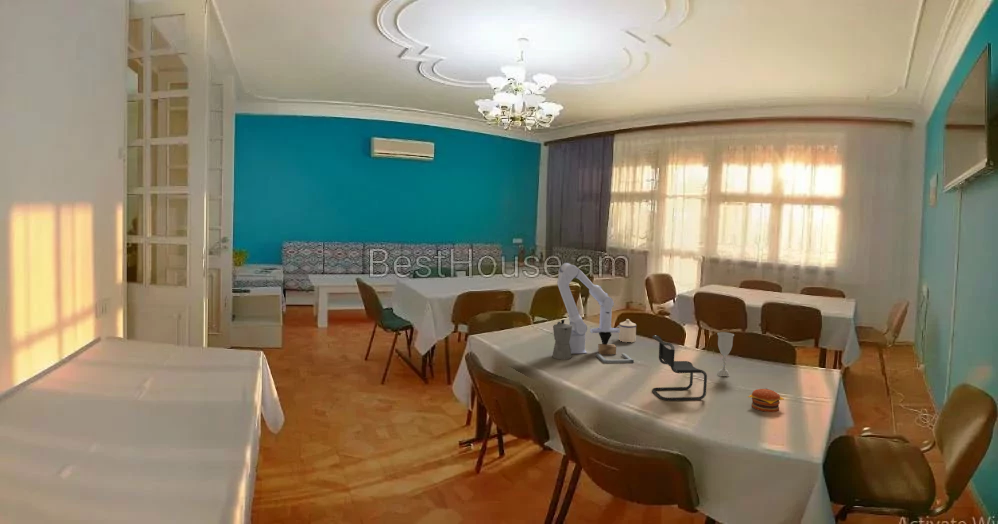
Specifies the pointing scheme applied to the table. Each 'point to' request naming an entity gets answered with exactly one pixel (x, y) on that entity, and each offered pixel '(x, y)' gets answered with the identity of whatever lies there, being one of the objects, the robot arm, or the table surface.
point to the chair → (677, 370)
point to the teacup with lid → (627, 331)
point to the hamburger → (765, 400)
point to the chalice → (724, 349)
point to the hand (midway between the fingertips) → (604, 347)
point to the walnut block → (606, 348)
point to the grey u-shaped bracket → (626, 360)
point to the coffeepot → (562, 340)
